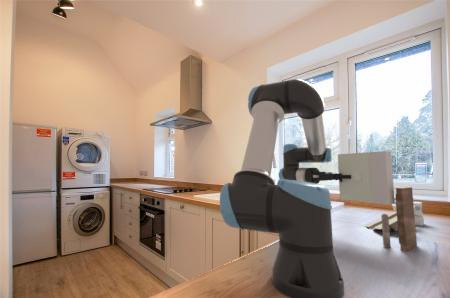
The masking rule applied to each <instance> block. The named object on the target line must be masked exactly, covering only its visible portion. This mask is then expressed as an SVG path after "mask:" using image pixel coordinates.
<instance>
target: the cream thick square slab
mask: <svg viewBox="0 0 450 298" xmlns="http://www.w3.org/2000/svg"><path fill="white" fill-rule="evenodd" d="M392 163H393V162H392V152H391V151H387V150H384V151H383V150H382V151H368V152H356V153H355V152H353V153H338V154H337V167H338V173H341V174H342V175H343V173H361V175H362V181H351V180H343V179H342V182H340V180H338V184H339V185H338V187H339V200H341V201H353V202H358V203H359V202H361V203H371V204H378V205H387V206H392V204H395V201H396V199H395V188H394V187H395V186H394V175H393V164H392Z"/></svg>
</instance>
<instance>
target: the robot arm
mask: <svg viewBox="0 0 450 298" xmlns="http://www.w3.org/2000/svg"><path fill="white" fill-rule="evenodd" d="M247 101H248V102H247V107H248V112H249V114H250V116H251V117H252V119H253V121H252V125H251V129H250V132H249V138H248V142H247V145H246V149H245V153H244V157H243V160H242V166H241V169H240V170H239V171H236V173H234V175H233V178H232V183H231V182H227V183H225V184H224V185H223V186H222V187H221V190H220V193H219V209H220V214H221V217H222V219H223V222H224V223H225V224H226V226H228V227H230V228H235V229H239V230H248V231H254V232H263V233H270V234H276V235H277V234H278V237H279V238H278V239H279V241H278V242H279V243H278V244H279V246H278V250H277V253H276V256H275V260H274V264H273V266H272V274H271V275H272V277H271V278H272V283H273V286H274V287H275V288H276V290H278V291H279V292H280V293H282V294H283V295H285V296H287V297H289V298H343V297H344V295H345V282H344V278H343V276H342V273H341V271H340V268H339V265H338V263H337V259H336V257H335V254H334V246H333V245H334V244H333V243H334V240H333V224H332V209H333V205H332V201H331V193H330V189H329V188H327V187H326V186H325V185H323V184H319V183H320V182H322V181H323V182H325V181H334V180H335V181H339V180H340V182H342V179H343V180H351V181H362V175H361V173H343V175H342V174H341V173H339V172H338V173H337V172H335V173H333V172H330V171H329V172H328V171H320V169H318V168H317V167H300V164H309V163H311V164H315V163H316V164H317V163H320V164H321V163H322V164H323V163H331V162H332V159H333V158H332V148H331V146H327V144H326V137H325V129H324V128H325V126H324V117H323V114H324V111H325V102H324V98H323V96H322V94H321V93H320V92H319V90H318V89H317V88H316V87H315V86H314V85H312V84H311V83H309V82H307V81H305V80H303V79H297V78H296V79H295V78H294V79H289V80H284V81H277V82H272V83H266V84H260V85H256V86H253V87H252V89H251V90H250V91H249V94H248V98H247ZM295 113H296V114H297V116H298V117H299V118H300V119H301V123H302V127H303V133H304V137H305V141H306V145H307V147H306V146H305V147H304V146H303V147H300V146H299V144H297V143H287V144H284V145H283V147H282V149H283V151H282V152H283V153H282V155H283V156H282V157H283V159H282V161H283V167H282V168H280V169H279V172H278V180H277V183H275V179H273V178H272V176H271V175H272V168H273V161H274V155H275V149H276V142H277V136H278V130H279V124H280V123H281V122H282V121H283V120H284V118H285V115H288V114H295Z"/></svg>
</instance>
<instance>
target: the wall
mask: <svg viewBox="0 0 450 298" xmlns="http://www.w3.org/2000/svg"><path fill="white" fill-rule="evenodd" d="M386 214H387V215H388V217H389V230H390V229H391V230H390V231H394V232H398V222H397V212H396V211H394V210H393V211H391V212H388V213H386ZM363 227H367V228H369V229H370V230H375V231H376V230H382V218H381V217H379V218H377V219H375V220H372V221H371V222H368V223H367V224H364V226H363Z"/></svg>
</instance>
